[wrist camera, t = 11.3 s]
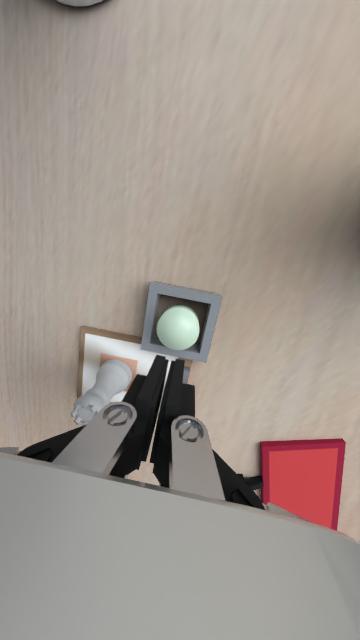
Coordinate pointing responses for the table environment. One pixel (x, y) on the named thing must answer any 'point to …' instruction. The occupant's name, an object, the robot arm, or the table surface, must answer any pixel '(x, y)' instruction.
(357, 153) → the table surface
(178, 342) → the button
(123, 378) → the rook chess piece
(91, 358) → the clipboard
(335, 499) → the red board with handle
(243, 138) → the table surface
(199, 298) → the button housing
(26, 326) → the table surface
